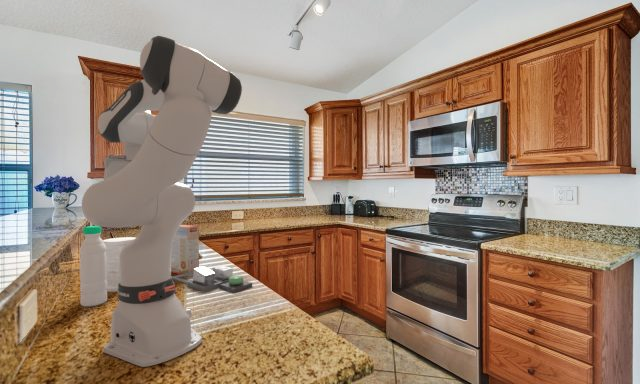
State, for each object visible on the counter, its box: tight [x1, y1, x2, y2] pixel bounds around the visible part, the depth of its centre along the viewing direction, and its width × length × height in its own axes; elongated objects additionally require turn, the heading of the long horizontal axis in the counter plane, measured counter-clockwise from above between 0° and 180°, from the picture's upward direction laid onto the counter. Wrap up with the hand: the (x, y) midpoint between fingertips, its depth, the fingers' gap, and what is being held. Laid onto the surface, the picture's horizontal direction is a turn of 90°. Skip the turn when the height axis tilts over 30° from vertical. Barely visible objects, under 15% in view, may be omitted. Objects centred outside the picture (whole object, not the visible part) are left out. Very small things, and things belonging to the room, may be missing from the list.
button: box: [229, 275, 244, 285], centre depth 112 cm, size 5×5×4 cm
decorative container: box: [102, 236, 136, 293], centre depth 118 cm, size 12×12×18 cm
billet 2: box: [212, 265, 234, 281], centre depth 120 cm, size 7×4×5 cm, turn 52°
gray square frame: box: [172, 272, 194, 285], centre depth 125 cm, size 12×12×2 cm
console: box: [219, 280, 253, 293], centre depth 112 cm, size 8×8×2 cm
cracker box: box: [171, 224, 200, 275], centre depth 135 cm, size 14×6×21 cm, turn 58°
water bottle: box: [78, 225, 108, 308], centre depth 101 cm, size 7×7×25 cm
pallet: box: [186, 279, 229, 293], centre depth 117 cm, size 11×15×3 cm
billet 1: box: [192, 266, 215, 286], centre depth 114 cm, size 7×4×5 cm, turn 54°
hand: (139, 197), depth 106 cm, fingers open, 8 cm apart
